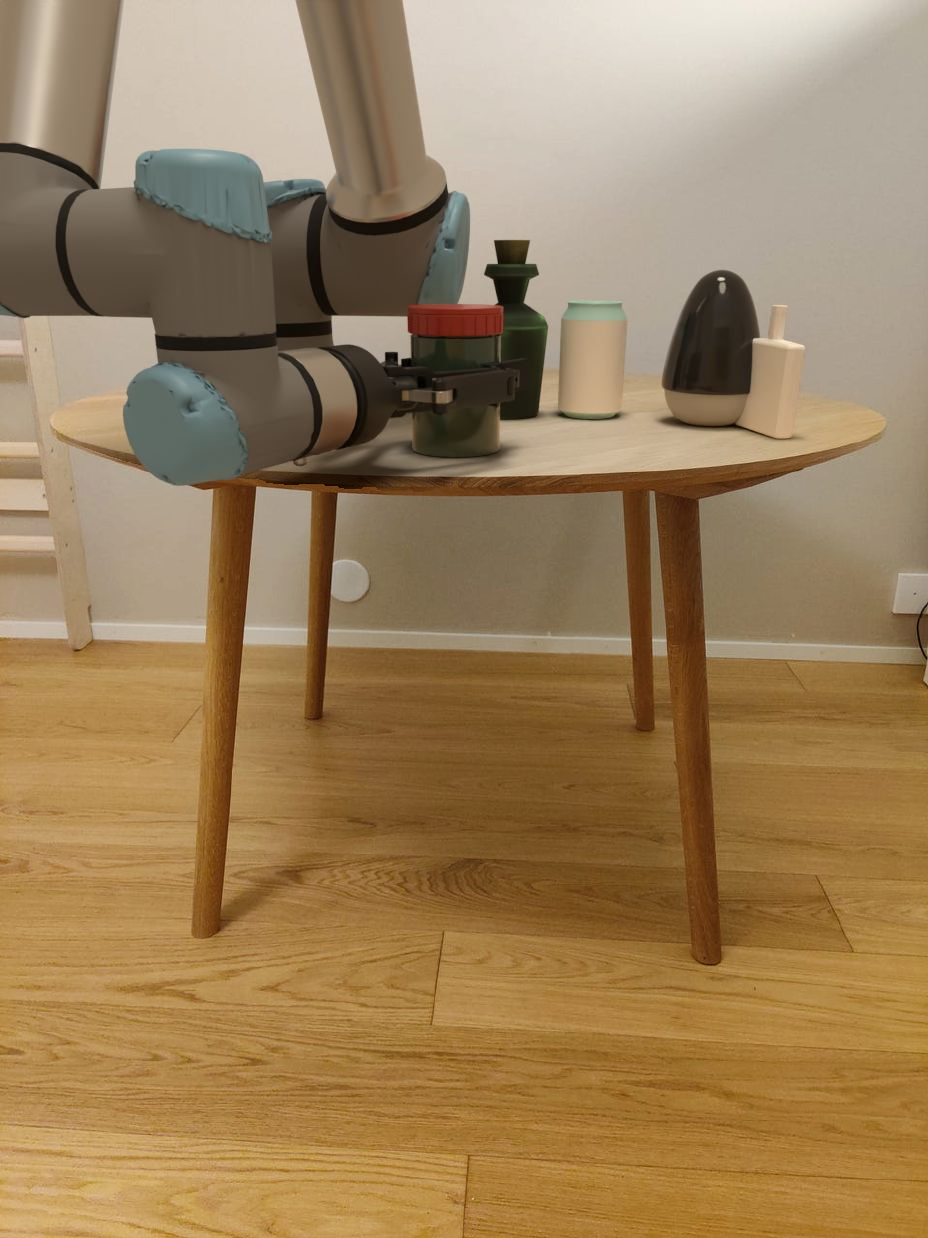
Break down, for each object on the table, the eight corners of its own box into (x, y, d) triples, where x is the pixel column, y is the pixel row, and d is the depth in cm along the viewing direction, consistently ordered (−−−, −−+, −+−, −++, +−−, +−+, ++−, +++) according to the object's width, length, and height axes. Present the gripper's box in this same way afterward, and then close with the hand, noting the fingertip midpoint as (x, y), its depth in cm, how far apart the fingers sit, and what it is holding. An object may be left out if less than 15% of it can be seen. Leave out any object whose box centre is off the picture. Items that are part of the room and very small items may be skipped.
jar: (395, 452, 83) (392, 314, 79) (439, 437, 89) (437, 309, 85) (475, 460, 79) (475, 317, 75) (513, 445, 86) (516, 312, 82)
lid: (389, 334, 79) (388, 307, 78) (437, 327, 86) (437, 303, 85) (476, 337, 75) (476, 309, 75) (519, 331, 82) (519, 305, 82)
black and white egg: (738, 413, 103) (754, 268, 97) (771, 430, 93) (791, 269, 88) (648, 414, 103) (658, 268, 97) (672, 430, 93) (686, 269, 87)
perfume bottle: (794, 438, 89) (814, 308, 85) (775, 438, 89) (795, 307, 84) (750, 423, 96) (766, 302, 92) (733, 424, 96) (748, 302, 92)
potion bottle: (458, 413, 103) (457, 240, 97) (514, 406, 108) (517, 240, 101) (502, 423, 97) (505, 239, 91) (560, 415, 102) (567, 239, 95)
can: (590, 422, 98) (596, 303, 93) (544, 413, 103) (548, 300, 99) (634, 415, 102) (642, 301, 98) (588, 408, 107) (593, 298, 103)
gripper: (226, 437, 75) (394, 402, 92) (440, 467, 64) (583, 421, 82) (217, 340, 72) (392, 324, 90) (439, 355, 61) (587, 333, 79)
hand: (483, 370), depth 86 cm, fingers closed on jar, 8 cm apart
